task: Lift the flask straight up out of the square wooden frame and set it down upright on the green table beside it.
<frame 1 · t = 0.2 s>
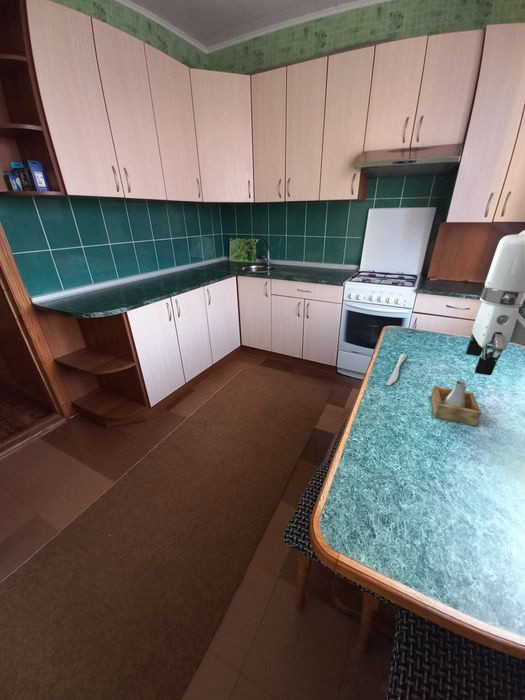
hand: (477, 363, 71), 21 cm above the table, tool pointing down, fingers open, 9 cm apart
flask: (451, 411, 88), resting in square wooden frame
butter knife: (397, 369, 110), on the table
square wooden frame: (451, 410, 88), on the table
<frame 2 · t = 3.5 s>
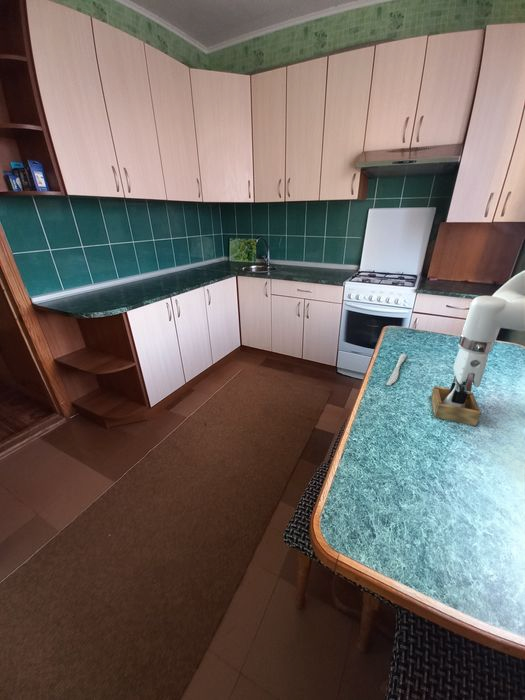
hand: (456, 398, 86), 5 cm above the table, tool pointing down, fingers closed on flask, 3 cm apart
flask: (451, 411, 88), resting in square wooden frame, touching gripper
everything else where it was.
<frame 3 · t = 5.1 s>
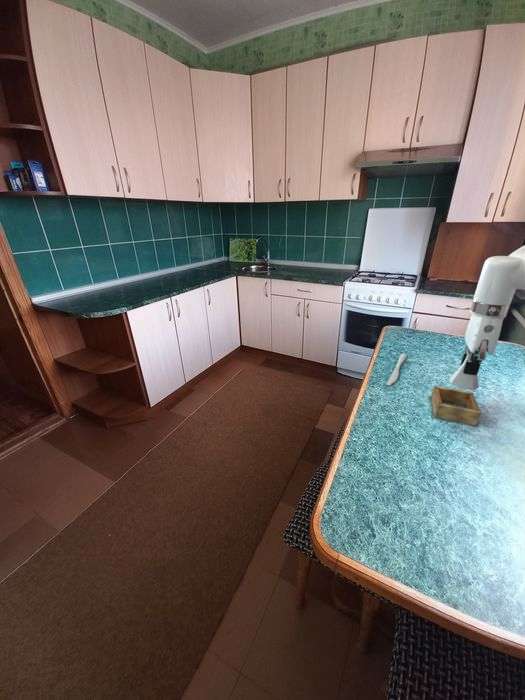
hand: (468, 369, 81), 14 cm above the table, tool pointing down, fingers closed on flask, 3 cm apart
flask: (463, 384, 83), point 10 cm above the table, touching gripper
everything else where it was.
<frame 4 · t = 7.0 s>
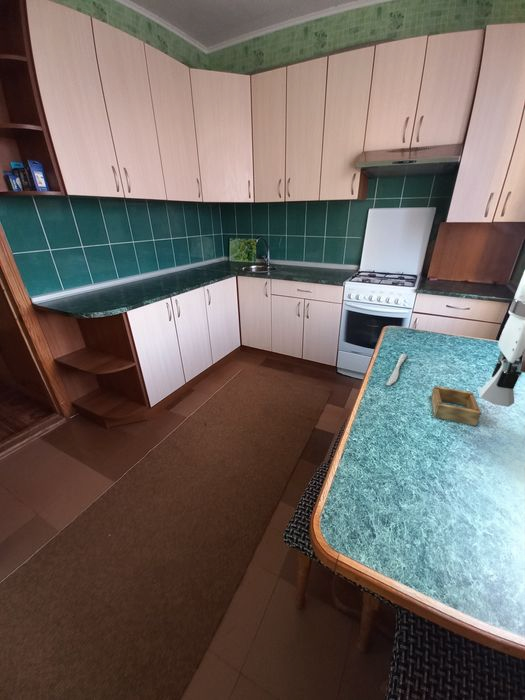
hand: (502, 382, 69), 18 cm above the table, tool pointing down, fingers closed on flask, 3 cm apart
flask: (494, 398, 71), point 13 cm above the table, touching gripper
everything else where it was.
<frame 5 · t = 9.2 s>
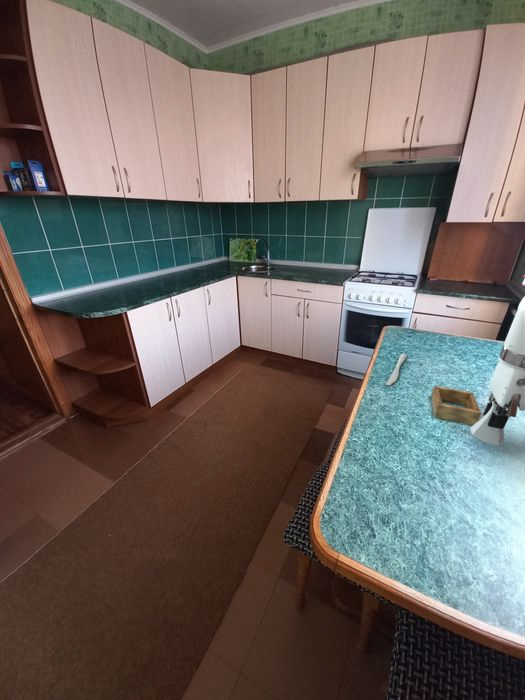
hand: (492, 421, 72), 8 cm above the table, tool pointing down, fingers closed on flask, 3 cm apart
flask: (486, 435, 74), point 3 cm above the table, touching gripper
everything else where it was.
when the fingers open (5 cm above the table, at t = 10.4 s): flask stays where it is, on the table.
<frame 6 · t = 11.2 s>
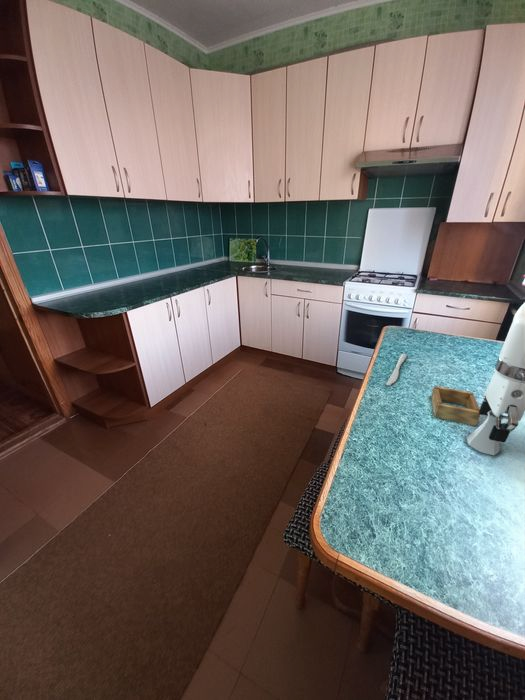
hand: (490, 426, 73), 6 cm above the table, tool pointing down, fingers open, 9 cm apart
flask: (482, 445, 76), on the table
everything else where it was.
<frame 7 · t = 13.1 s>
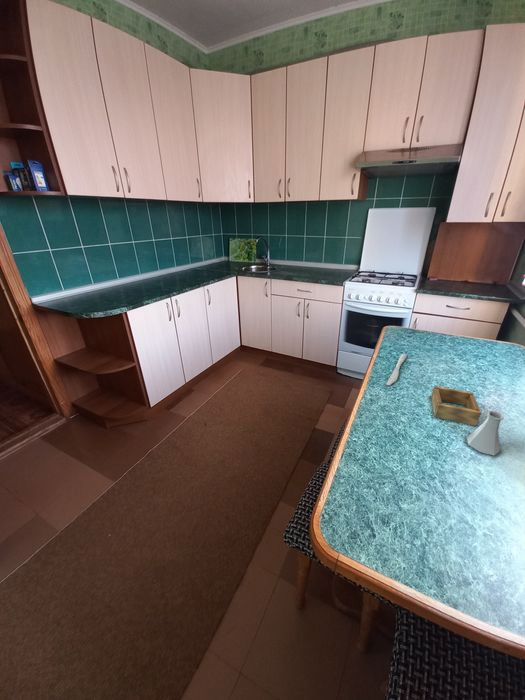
nothing on the table moved.
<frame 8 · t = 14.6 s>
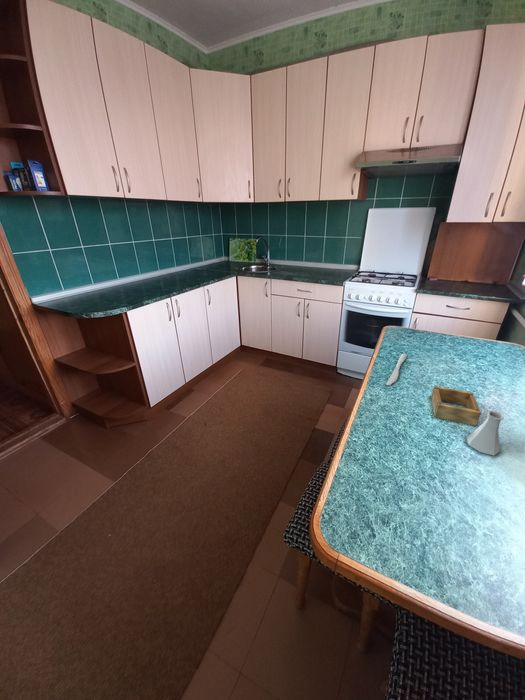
nothing on the table moved.
at the end: flask inside the target area (0.0 cm from its centre), on the table; flask tilted 0°; flask touching table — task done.
